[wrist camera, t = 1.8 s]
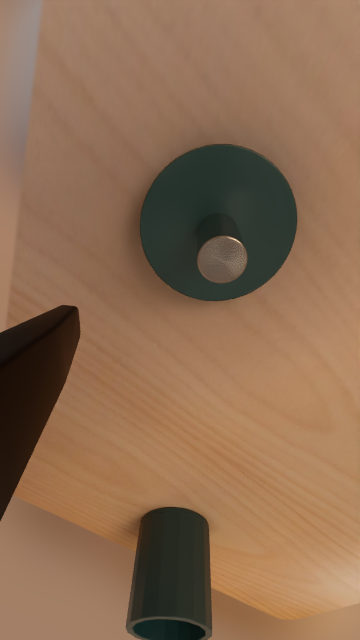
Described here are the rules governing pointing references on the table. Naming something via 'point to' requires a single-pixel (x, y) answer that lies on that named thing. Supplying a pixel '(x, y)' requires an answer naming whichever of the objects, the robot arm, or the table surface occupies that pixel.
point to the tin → (171, 578)
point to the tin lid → (218, 222)
